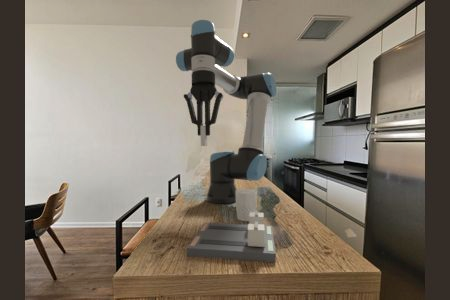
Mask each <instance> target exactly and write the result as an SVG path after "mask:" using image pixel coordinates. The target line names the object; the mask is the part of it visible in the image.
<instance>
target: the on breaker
mask: <svg viewBox="0 0 450 300" xmlns="http://www.w3.org/2000/svg"><path fill="white" fill-rule="evenodd" d="M264 219H265V216H264V212H259V210H257V209H256V210H255V212H250V216H249V221H248V222H249V223H248V224H255V222H258V224H264V225H265V220H264Z"/></svg>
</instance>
